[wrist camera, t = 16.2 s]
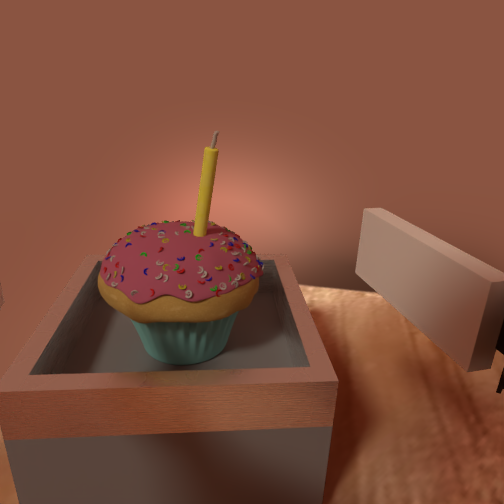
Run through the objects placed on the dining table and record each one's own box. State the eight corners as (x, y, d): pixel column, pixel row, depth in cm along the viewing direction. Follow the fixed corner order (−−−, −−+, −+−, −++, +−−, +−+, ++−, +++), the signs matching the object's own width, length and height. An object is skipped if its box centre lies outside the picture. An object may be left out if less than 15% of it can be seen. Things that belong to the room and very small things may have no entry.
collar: (283, 285, 32) (285, 254, 31) (332, 426, 19) (338, 380, 18) (90, 287, 31) (86, 254, 30) (3, 440, 18) (-8, 392, 17)
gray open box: (279, 352, 34) (283, 285, 32) (319, 518, 21) (332, 426, 19) (99, 356, 33) (90, 287, 31) (27, 537, 20) (3, 440, 18)
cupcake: (276, 322, 27) (289, 126, 23) (220, 412, 20) (222, 147, 15) (159, 295, 30) (150, 115, 25) (71, 365, 22) (35, 129, 18)
